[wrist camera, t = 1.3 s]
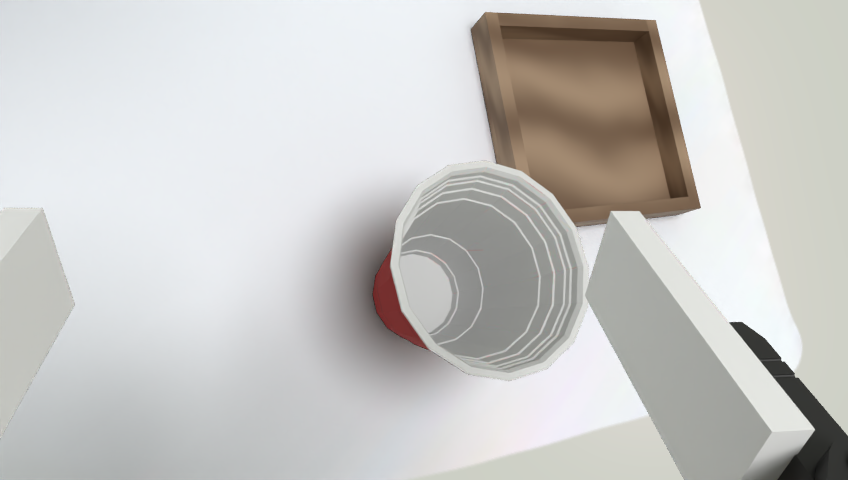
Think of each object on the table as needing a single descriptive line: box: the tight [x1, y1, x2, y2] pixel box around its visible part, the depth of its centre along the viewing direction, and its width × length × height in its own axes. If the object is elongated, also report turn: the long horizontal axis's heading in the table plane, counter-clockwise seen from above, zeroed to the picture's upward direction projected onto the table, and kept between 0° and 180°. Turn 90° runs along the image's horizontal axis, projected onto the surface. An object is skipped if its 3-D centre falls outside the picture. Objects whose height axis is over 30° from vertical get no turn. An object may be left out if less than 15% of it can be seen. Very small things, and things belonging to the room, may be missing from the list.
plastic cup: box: [373, 161, 589, 381], centre depth 33 cm, size 11×11×12 cm
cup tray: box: [471, 12, 701, 227], centre depth 45 cm, size 16×16×2 cm
